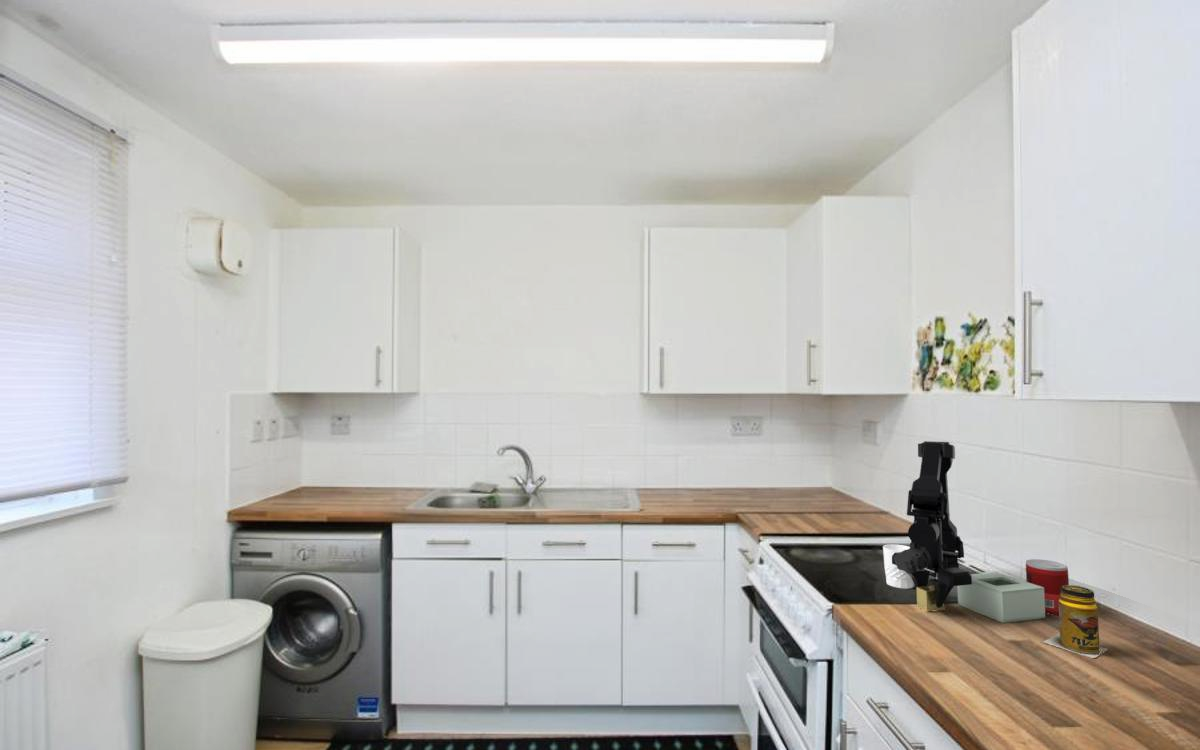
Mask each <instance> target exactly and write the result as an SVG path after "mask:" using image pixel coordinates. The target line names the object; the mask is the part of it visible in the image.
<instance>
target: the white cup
mask: <svg viewBox="0 0 1200 750" xmlns="http://www.w3.org/2000/svg"><path fill="white" fill-rule="evenodd" d="M908 549H910V546H909V545H908V546H907V545H903V544H893V543H892V544H885V545H883V546H882V552H883V565H884V573H885V581H886V584H887V585H888V586H890V587H893V588H898V589H905V590H907V589H913V588H915V585H914V582H913V580H912V578H911V576H910V575H908V574H907V573H906V572H905V571H903V570H899V569H898V568H897V565H894V564H892V556H893V554H894V553H897V552H902V551H904V550H908Z"/></svg>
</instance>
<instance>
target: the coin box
mask: <svg viewBox="0 0 1200 750" xmlns="http://www.w3.org/2000/svg"><path fill="white" fill-rule="evenodd" d="M970 574H971V576H972V584H971V585H961V586H956V589H957V604H958V605H959V606H962V607H964V608H966V609H968V610H971V611H973V612H975V613H978V614H980V615H983V616H986V617H988V618H990V619H993V620H995V621H997V622H1000V623H1003V624H1006V623H1008V624H1009V623H1015V622H1025V621H1033V619H1034V620H1042V619H1041V618H1043V619H1046V614H1045V597H1044V587H1041V586H1038V585H1035V584H1032V583H1029V582H1026V581H1025V580H1022V579H1019V578H1016V577H1014V576H1013V577H1012V576H1009V575H1008V574H1007V575H1006V574H1003V573H1000V572H997V571H994V572H985V573H984V572H982V573H970Z"/></svg>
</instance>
